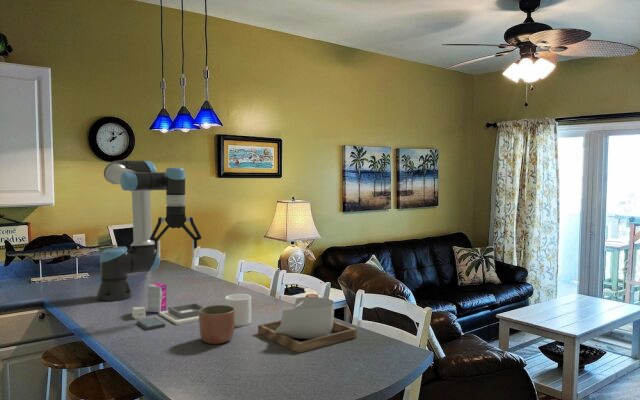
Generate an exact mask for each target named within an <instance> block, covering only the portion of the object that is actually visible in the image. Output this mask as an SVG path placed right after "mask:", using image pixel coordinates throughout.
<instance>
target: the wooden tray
mask: <svg viewBox="0 0 640 400" xmlns="http://www.w3.org/2000/svg"><path fill="white" fill-rule="evenodd" d="M280 324H281V320H277V321H272V322H271V321H270V322H267V323H262V324H258V325H257V331H258V332H257V334H259V335H260V336H263V337H265V338H267V339H269V340H271V341H273V342H275V343H278V344H280V345H281V346H283V347H286V348H288V349H289V350H292V351H295V352H297V353H299V354H300V353H305V352H308V351H312V350H315V349H318V348H322V347H327V346H331V345H334V344H337V343H341V342H344V341H345V342H346V341H350V340H351V339H355V338H357V334H358V332H357V331H358V330H357V328H355V327H352V326H350V325H349V326H348V324H347V325H346V324H343V323H341V322H338V321H335V320H334V322H333V328H332V330H331V331H335V332H334V333H329V334H328V335H326V336H322V337H318V338H314V339H305V340H304V341H299V340H296V339H295V338H292V337H287V336H285V335H283V334H279V333H275V330H276V329H277V328H278V327H279V326H280Z"/></svg>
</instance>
